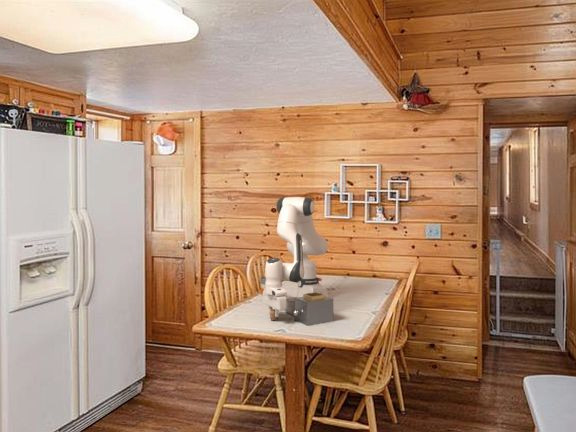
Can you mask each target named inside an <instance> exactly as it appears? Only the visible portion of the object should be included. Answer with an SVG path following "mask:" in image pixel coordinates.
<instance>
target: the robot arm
mask: <svg viewBox="0 0 576 432" xmlns="http://www.w3.org/2000/svg"><path fill="white" fill-rule="evenodd" d="M276 201H277V202H276V211H277V214H278V218H277V225H276V233H277V235H278V237H279V238H280V239H282V240H283V241H285V242H286V250H287V251H288V252H289V254H291V255H292V256H293V262H282V260H281V258H278V257H270V258H268V259H267V260H266V261H265V268H264V274H265V275H264V276H265V277H266V282H265V288H264V291H263V296H262V295H261V299H262V303H263V304H264V305H266V306H267V307H268V311H269V314H270V310H272V309H275V313H274V316H275V317H279V316H280V312H282V311H285V310H286V305H287V300H286V298H287V295H288V291H287V290H286V289H285V288H284V286H283V282H291V283H297V293H296V297H303V294H306V293H314V292H317V293H320V294H323V295H325V296H327V297H330V298H332V296H330V295H329V292H328V289H327V288H326V287H325V286H323V285H322V284H321V283H320V282H322V281H323V278H322V277H318V276H317V265H316V263H315V262H314V261H312V260H311V259H310V258H309V257H308V256H322V255H325V254H326V253H327V251H328V250H329V242H328V240H327V239H326V238H324V237H323V236H321V235H320V234H319V233H318V231H316V229H315V225H314V219H313V214H314V212H315V202H314V200H313V198H310V197H307V196H306V197H302V196H287V197H286V196H284V197H280V198H279V199H278V200H276Z"/></svg>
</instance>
